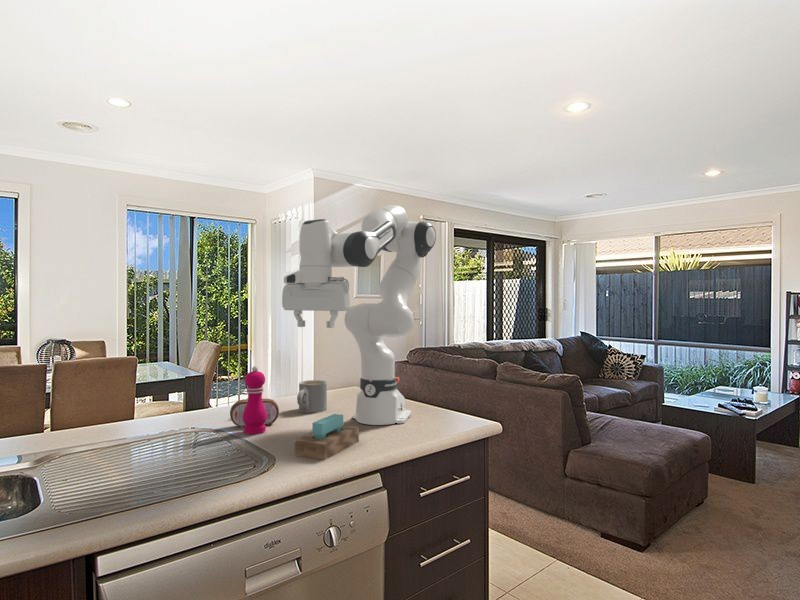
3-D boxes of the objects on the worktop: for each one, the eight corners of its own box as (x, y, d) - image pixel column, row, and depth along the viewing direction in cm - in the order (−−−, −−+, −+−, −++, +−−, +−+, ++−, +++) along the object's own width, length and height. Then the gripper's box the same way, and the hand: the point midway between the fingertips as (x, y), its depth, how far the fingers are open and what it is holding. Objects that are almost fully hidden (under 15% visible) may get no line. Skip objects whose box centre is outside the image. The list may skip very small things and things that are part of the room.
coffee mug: (313, 405, 190) (313, 379, 189) (332, 409, 184) (332, 382, 184) (285, 412, 179) (285, 384, 179) (304, 416, 173) (305, 387, 173)
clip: (333, 442, 142) (334, 413, 142) (343, 443, 141) (343, 414, 141) (312, 453, 132) (312, 422, 132) (322, 454, 131) (322, 423, 131)
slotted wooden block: (331, 437, 146) (331, 423, 146) (358, 441, 143) (358, 427, 143) (295, 455, 130) (295, 439, 130) (324, 459, 126) (324, 444, 126)
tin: (278, 422, 164) (278, 397, 164) (279, 425, 161) (279, 398, 161) (229, 426, 159) (229, 399, 159) (229, 428, 156) (229, 401, 156)
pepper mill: (260, 435, 148) (260, 368, 148) (237, 434, 150) (238, 367, 149) (271, 429, 155) (271, 365, 155) (249, 428, 157) (250, 364, 156)
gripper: (354, 277, 137) (354, 327, 138) (292, 278, 145) (292, 325, 146) (342, 276, 132) (342, 328, 132) (278, 277, 140) (278, 327, 140)
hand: (315, 327), depth 139 cm, fingers open, 8 cm apart
